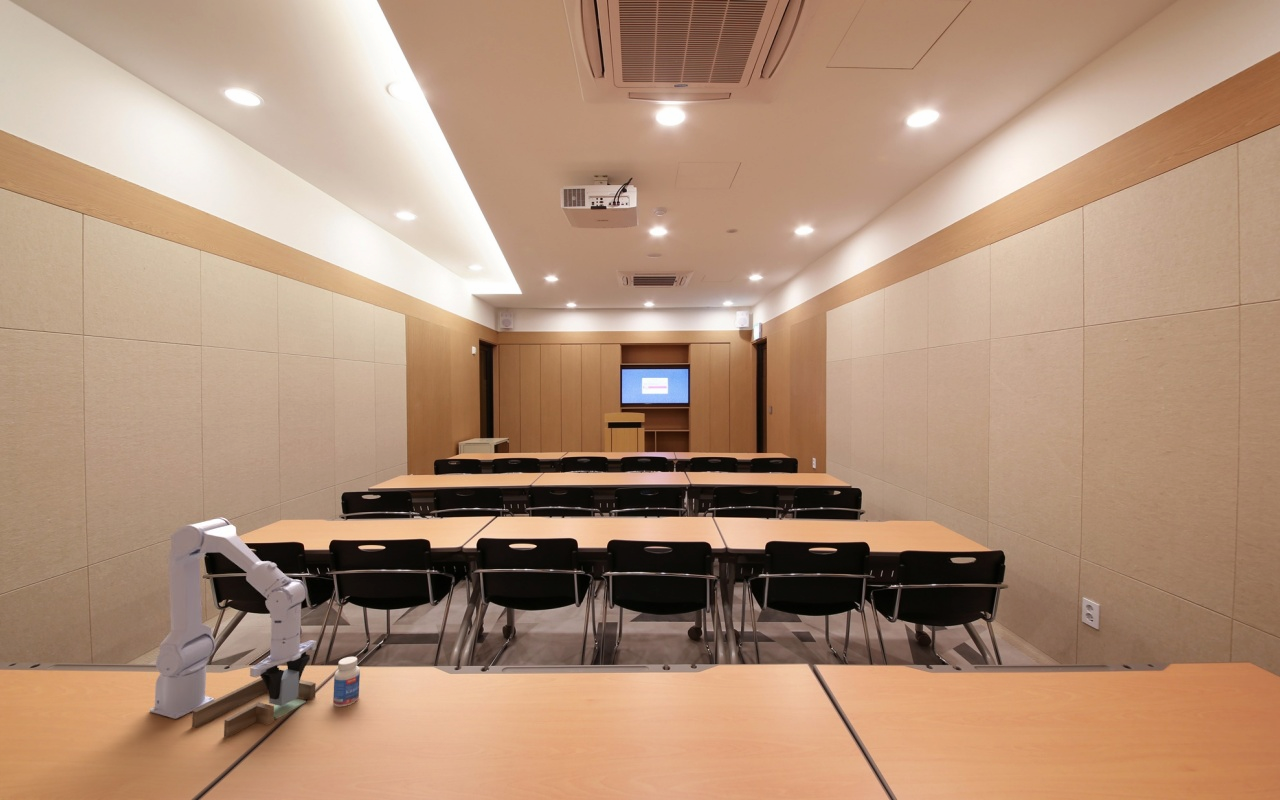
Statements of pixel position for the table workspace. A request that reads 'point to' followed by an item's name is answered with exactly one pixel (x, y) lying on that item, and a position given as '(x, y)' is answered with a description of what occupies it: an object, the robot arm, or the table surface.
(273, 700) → the block
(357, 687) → the pill bottle
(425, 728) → the table surface
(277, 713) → the pad
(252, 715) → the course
